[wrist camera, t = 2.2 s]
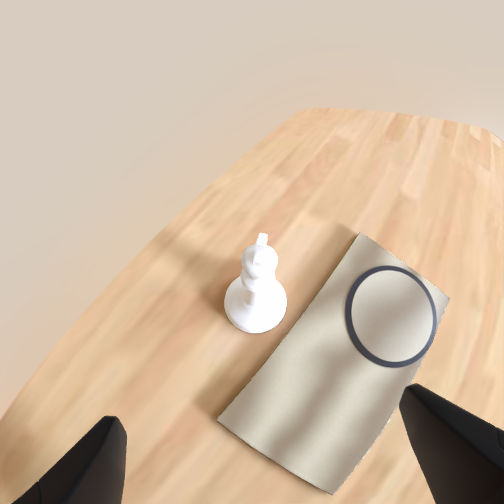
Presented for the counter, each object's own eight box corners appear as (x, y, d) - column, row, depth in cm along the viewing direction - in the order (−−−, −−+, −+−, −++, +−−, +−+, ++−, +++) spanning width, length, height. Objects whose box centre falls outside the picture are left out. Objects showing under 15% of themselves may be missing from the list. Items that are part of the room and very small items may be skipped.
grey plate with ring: (446, 300, 24) (450, 297, 23) (330, 493, 16) (333, 496, 16) (358, 234, 27) (360, 230, 26) (216, 419, 19) (215, 420, 19)
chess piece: (217, 326, 23) (199, 277, 14) (231, 269, 25) (224, 194, 16) (280, 338, 22) (304, 298, 13) (290, 280, 25) (315, 210, 16)
